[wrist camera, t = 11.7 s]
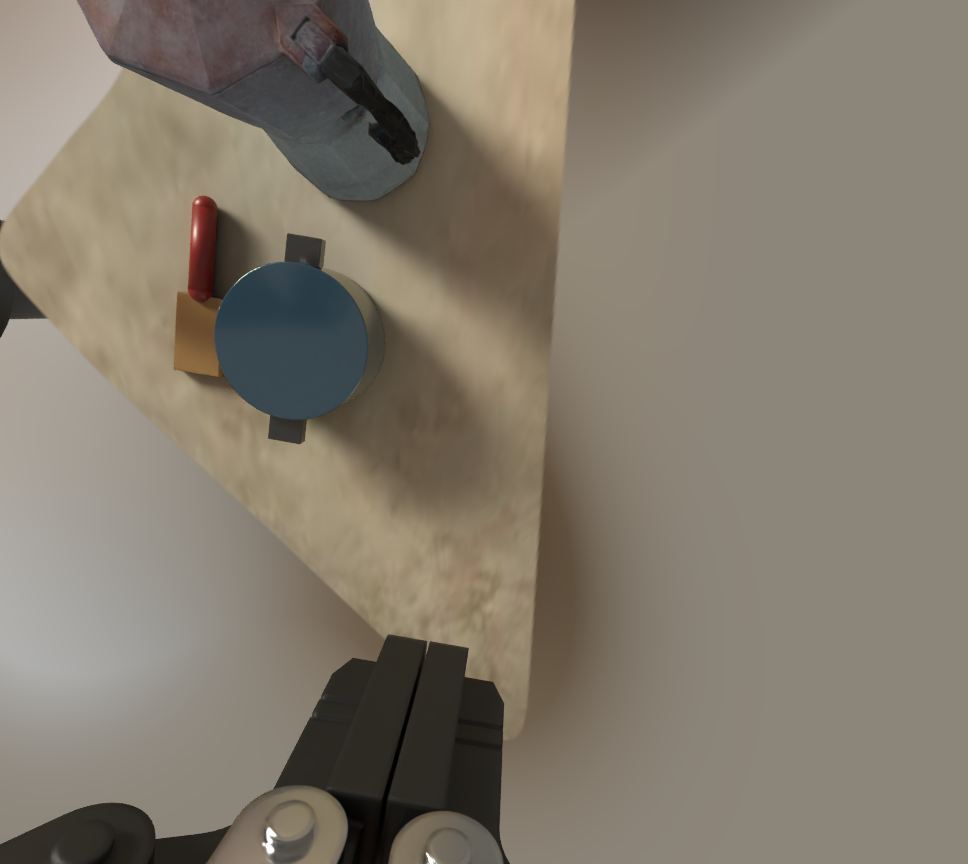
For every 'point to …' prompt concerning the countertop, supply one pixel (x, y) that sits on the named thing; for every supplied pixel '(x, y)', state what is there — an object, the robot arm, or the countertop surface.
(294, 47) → the moka pot
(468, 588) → the countertop surface
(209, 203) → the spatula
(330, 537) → the countertop surface
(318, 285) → the pot
